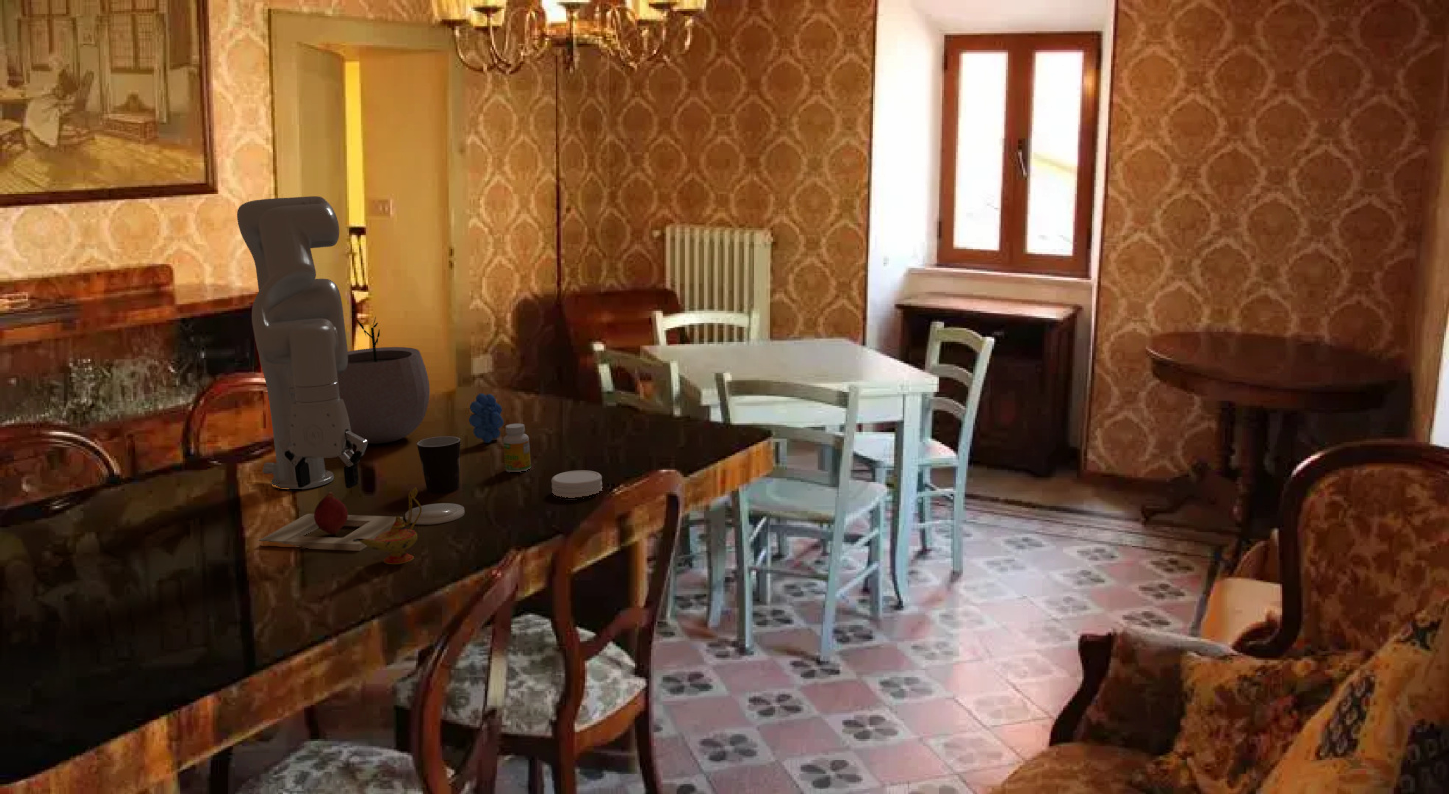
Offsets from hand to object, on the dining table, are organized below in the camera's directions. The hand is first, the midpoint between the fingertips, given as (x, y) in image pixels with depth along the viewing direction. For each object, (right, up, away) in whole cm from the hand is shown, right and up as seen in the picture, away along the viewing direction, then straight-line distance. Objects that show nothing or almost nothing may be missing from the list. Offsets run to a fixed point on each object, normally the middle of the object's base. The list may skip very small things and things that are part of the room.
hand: (328, 486), depth 238 cm
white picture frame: (0, -9, +2) cm, 9 cm away
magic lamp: (+15, -12, -15) cm, 24 cm away
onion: (0, -9, +3) cm, 10 cm away
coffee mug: (+15, -2, +31) cm, 35 cm away
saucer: (+17, -6, +11) cm, 21 cm away
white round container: (+43, -3, +23) cm, 49 cm away
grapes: (+18, +5, +67) cm, 69 cm away
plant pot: (-9, +5, +74) cm, 74 cm away
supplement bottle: (+28, 0, +42) cm, 50 cm away
